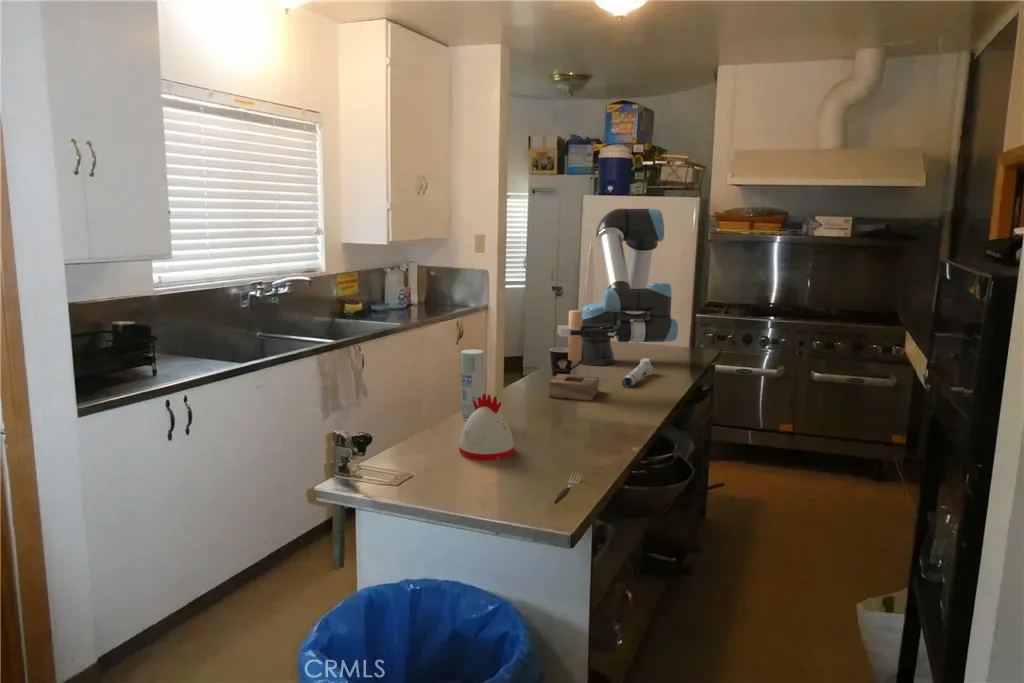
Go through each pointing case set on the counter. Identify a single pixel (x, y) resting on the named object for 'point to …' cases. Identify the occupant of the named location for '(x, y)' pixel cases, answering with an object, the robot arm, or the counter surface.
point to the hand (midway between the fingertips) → (559, 331)
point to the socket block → (573, 386)
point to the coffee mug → (561, 361)
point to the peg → (575, 342)
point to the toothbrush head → (638, 372)
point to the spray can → (471, 380)
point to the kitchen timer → (486, 432)
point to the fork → (568, 487)
